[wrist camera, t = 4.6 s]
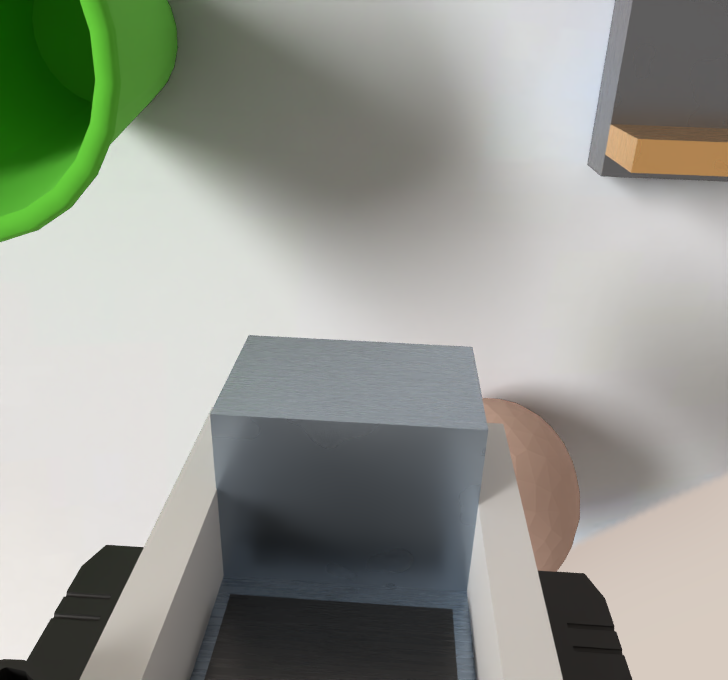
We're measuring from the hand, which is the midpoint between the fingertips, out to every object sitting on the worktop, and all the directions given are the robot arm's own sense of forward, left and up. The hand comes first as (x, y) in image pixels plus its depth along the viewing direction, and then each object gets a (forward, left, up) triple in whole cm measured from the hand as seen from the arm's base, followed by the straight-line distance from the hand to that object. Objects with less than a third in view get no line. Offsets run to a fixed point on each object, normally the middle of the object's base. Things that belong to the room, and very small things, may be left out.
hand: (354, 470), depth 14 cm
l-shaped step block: (0, 0, 0) cm, 1 cm away
